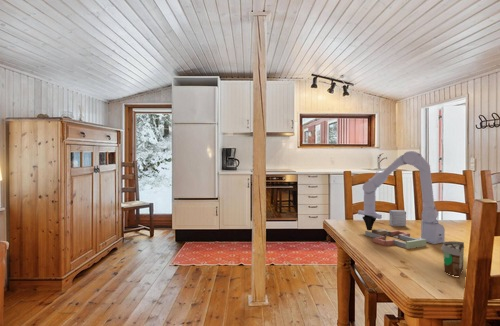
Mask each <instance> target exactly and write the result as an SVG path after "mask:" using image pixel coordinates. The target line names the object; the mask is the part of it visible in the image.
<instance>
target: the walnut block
mask: <svg viewBox="0 0 500 326" xmlns="http://www.w3.org/2000/svg"><path fill="white" fill-rule="evenodd" d="M381 229H382V228H376V229H375V228H374V229H372V230H371V232H372V233H375V234H378V235H382V236H385V237H387V235H386V231H385V230H386V229H383V230H381Z"/></svg>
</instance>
